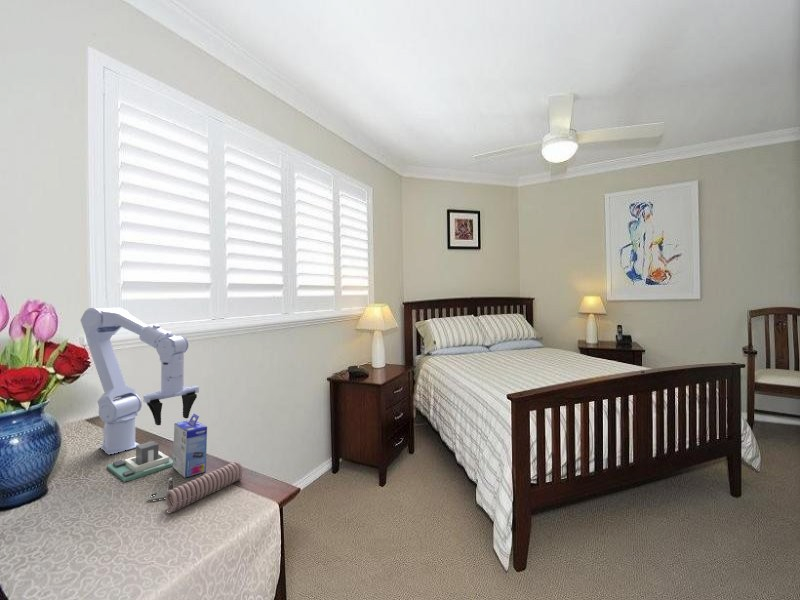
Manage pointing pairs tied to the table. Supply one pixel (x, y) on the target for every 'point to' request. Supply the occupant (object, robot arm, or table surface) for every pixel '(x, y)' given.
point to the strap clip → (162, 494)
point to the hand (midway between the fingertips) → (172, 421)
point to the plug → (146, 452)
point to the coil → (203, 486)
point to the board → (139, 467)
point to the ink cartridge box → (190, 447)
